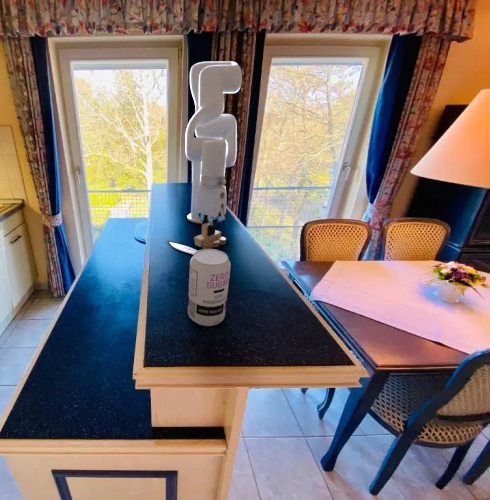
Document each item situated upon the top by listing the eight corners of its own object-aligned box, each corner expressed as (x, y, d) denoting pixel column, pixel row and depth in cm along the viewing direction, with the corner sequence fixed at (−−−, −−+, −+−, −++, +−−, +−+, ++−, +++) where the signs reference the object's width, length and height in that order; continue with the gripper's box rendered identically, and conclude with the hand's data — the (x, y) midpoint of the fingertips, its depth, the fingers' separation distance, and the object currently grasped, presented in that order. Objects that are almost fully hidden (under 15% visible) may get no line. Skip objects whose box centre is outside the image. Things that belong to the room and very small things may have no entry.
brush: (213, 237, 104) (215, 219, 101) (220, 239, 101) (222, 221, 98) (193, 244, 98) (194, 226, 95) (200, 247, 95) (201, 228, 92)
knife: (168, 239, 100) (188, 236, 102) (168, 244, 100) (188, 241, 102) (205, 279, 73) (231, 274, 75) (204, 284, 74) (231, 279, 76)
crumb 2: (220, 240, 101) (221, 235, 101) (227, 242, 99) (228, 238, 98) (214, 242, 100) (215, 238, 99) (221, 245, 97) (222, 241, 97)
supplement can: (199, 300, 68) (203, 244, 62) (231, 314, 63) (238, 254, 57) (180, 317, 62) (182, 257, 56) (212, 333, 58) (218, 270, 51)
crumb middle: (213, 242, 99) (214, 238, 99) (220, 245, 97) (221, 241, 96) (207, 244, 98) (208, 240, 97) (214, 247, 95) (215, 243, 95)
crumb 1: (207, 245, 97) (207, 241, 97) (214, 248, 95) (214, 244, 94) (200, 247, 96) (200, 243, 95) (207, 250, 93) (207, 246, 93)
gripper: (239, 183, 87) (233, 237, 95) (201, 176, 98) (198, 225, 106) (224, 186, 82) (218, 243, 90) (186, 178, 94) (184, 229, 102)
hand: (208, 233), depth 98 cm, fingers closed on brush, 2 cm apart
